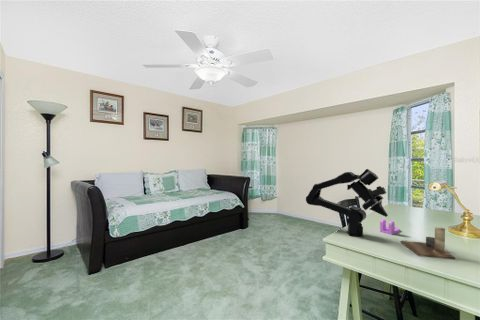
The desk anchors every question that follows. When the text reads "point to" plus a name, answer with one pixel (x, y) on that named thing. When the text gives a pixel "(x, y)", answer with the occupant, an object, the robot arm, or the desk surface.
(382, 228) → the bracket
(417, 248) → the brown board
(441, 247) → the crank handle
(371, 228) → the desk surface
